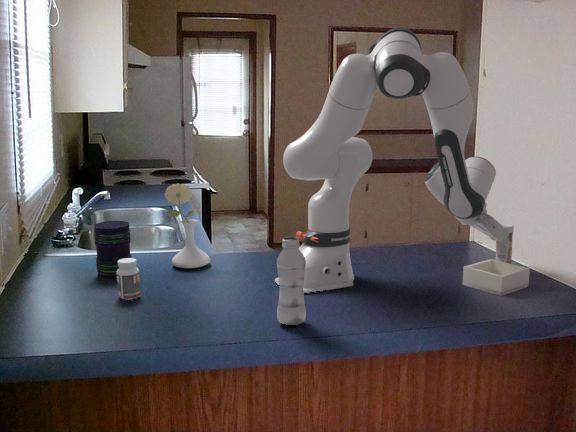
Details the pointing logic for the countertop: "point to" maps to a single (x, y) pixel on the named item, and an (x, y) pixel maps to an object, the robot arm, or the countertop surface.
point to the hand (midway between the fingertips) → (502, 242)
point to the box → (496, 277)
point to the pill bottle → (128, 279)
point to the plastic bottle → (291, 283)
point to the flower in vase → (186, 229)
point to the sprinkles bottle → (501, 250)
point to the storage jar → (111, 247)
